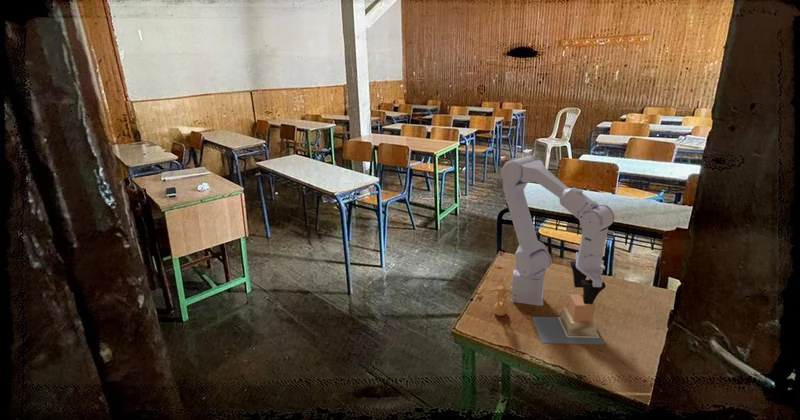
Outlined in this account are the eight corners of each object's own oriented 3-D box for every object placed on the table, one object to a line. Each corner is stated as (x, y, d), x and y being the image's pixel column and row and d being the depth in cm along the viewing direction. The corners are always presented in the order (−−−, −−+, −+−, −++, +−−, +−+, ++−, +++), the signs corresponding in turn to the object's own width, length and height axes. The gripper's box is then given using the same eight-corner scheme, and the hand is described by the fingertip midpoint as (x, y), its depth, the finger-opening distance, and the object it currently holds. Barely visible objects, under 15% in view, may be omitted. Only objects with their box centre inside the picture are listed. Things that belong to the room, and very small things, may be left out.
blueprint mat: (541, 344, 110) (542, 342, 109) (531, 317, 120) (532, 316, 119) (604, 345, 109) (604, 344, 108) (588, 318, 119) (589, 317, 119)
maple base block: (569, 335, 112) (571, 323, 110) (561, 319, 118) (563, 307, 117) (595, 335, 111) (598, 323, 110) (586, 319, 118) (588, 307, 116)
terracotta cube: (573, 320, 111) (575, 305, 109) (567, 309, 116) (569, 294, 114) (592, 321, 111) (595, 305, 109) (585, 309, 115) (588, 294, 113)
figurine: (514, 312, 122) (518, 277, 118) (514, 325, 117) (518, 289, 112) (485, 308, 124) (488, 274, 119) (484, 321, 119) (487, 285, 114)
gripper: (618, 265, 101) (608, 311, 106) (596, 238, 114) (588, 280, 119) (588, 265, 101) (580, 310, 106) (570, 237, 114) (563, 279, 120)
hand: (583, 294), depth 113 cm, fingers open, 7 cm apart
